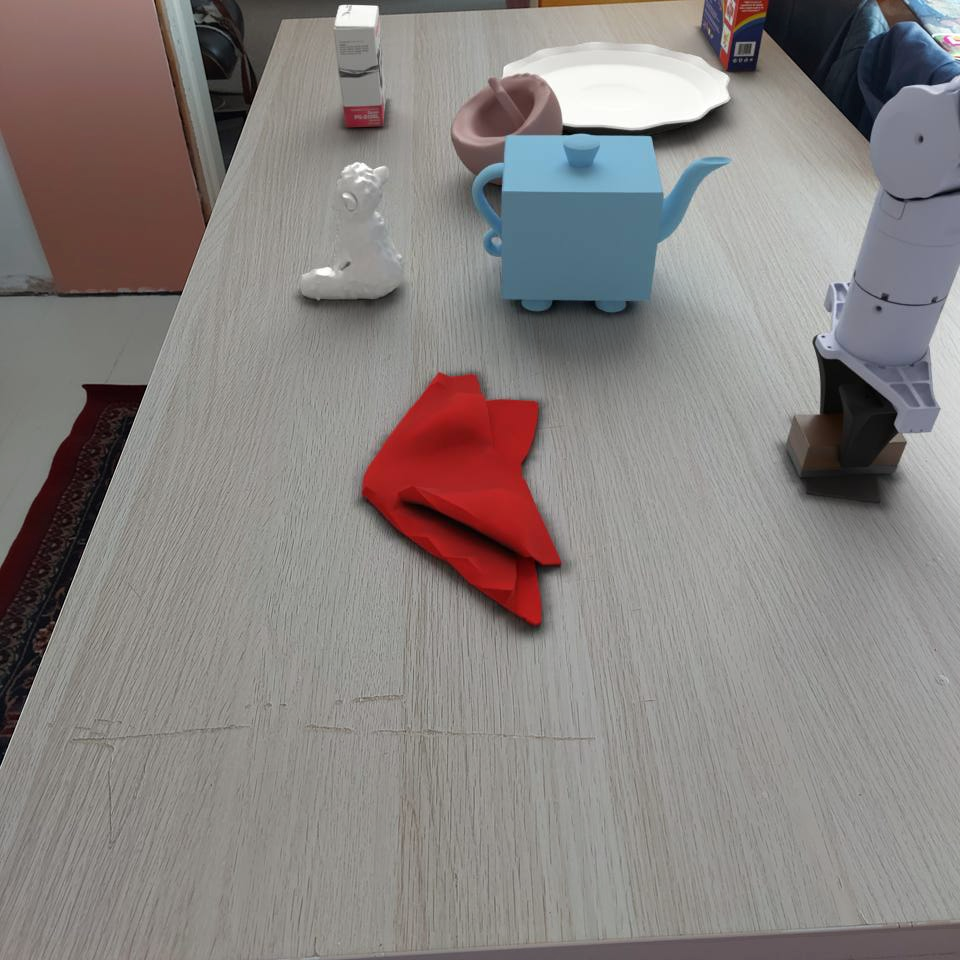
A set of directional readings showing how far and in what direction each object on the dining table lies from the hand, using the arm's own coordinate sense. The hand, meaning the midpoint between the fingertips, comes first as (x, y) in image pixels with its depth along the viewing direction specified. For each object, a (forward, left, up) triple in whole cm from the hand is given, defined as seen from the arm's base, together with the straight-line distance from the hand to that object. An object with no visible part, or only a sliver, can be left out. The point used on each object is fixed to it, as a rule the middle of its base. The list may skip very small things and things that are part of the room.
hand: (844, 445), depth 66 cm
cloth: (+27, +8, -2) cm, 28 cm away
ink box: (+54, -56, -2) cm, 78 cm away
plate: (+24, -66, -2) cm, 70 cm away
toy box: (+10, -88, -2) cm, 89 cm away
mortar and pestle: (+33, -41, -2) cm, 53 cm away
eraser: (0, 0, -1) cm, 1 cm away
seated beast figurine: (+42, -17, -2) cm, 45 cm away
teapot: (+21, -21, -2) cm, 30 cm away
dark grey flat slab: (0, 0, -2) cm, 2 cm away
